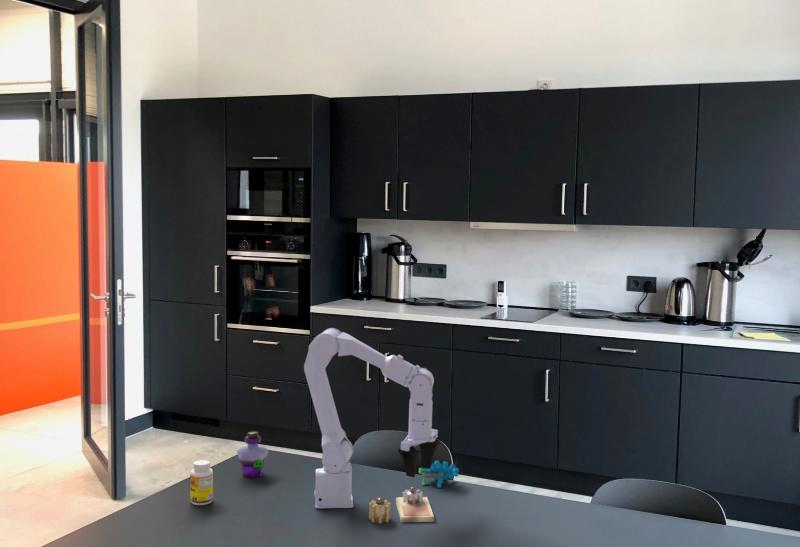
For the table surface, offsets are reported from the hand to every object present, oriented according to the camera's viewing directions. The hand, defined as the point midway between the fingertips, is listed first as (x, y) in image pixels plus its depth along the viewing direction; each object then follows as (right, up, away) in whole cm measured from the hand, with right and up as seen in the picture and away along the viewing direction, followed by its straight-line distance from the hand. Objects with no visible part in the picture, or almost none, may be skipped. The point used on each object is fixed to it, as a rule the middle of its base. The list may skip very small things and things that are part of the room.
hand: (418, 471), depth 197 cm
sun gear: (-2, -8, +3) cm, 9 cm away
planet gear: (-10, -10, -6) cm, 15 cm away
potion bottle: (-46, -7, +23) cm, 52 cm away
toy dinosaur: (+6, -8, +19) cm, 22 cm away
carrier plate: (-1, -10, -1) cm, 10 cm away
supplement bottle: (-55, -8, +2) cm, 55 cm away
